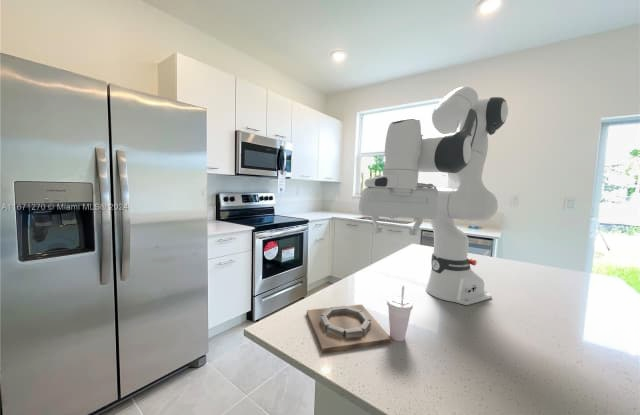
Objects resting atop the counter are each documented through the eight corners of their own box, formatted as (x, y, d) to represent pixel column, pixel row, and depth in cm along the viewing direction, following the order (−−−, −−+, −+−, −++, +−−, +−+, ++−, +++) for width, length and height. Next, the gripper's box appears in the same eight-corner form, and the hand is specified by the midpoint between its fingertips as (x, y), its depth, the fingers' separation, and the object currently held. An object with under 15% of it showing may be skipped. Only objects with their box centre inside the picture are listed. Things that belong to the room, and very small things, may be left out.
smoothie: (412, 346, 63) (416, 292, 61) (385, 342, 64) (388, 289, 63) (408, 331, 69) (412, 282, 68) (384, 328, 70) (387, 279, 69)
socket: (361, 308, 81) (362, 300, 81) (391, 343, 64) (391, 332, 64) (306, 313, 76) (306, 305, 76) (322, 353, 59) (322, 342, 59)
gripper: (432, 184, 70) (427, 233, 71) (359, 180, 69) (355, 230, 70) (444, 184, 64) (439, 238, 65) (364, 179, 63) (360, 234, 64)
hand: (395, 234), depth 67 cm, fingers open, 8 cm apart
